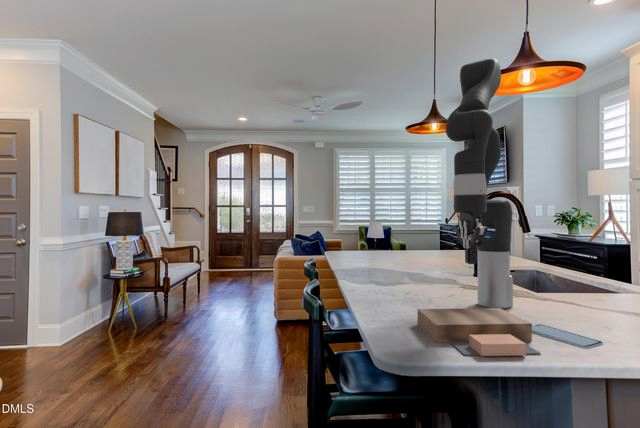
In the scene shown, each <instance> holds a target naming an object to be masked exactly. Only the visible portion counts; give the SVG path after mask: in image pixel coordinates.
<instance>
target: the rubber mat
mask: <svg viewBox="0 0 640 428" xmlns="http://www.w3.org/2000/svg"><path fill="white" fill-rule="evenodd" d="M449 344H450V345H452V346H453V347H454V348H455V349H456V350H457V351H458V352H459V353H461V354H462V356H464V357H470V356H471V357H472V356H473V357H474V356H475V357H477V356H479V357H480V356H481V355H480V354H479V353H478V352H476V351H475V350H474V349H473V348H471V347H470V346H469V342H450V343H449ZM531 354H541V355H542V353H541V351H538V350H536V349H534V347H532V346H530V345H528V344H526V355H525V356H531ZM481 357H482V356H481Z"/></svg>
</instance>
